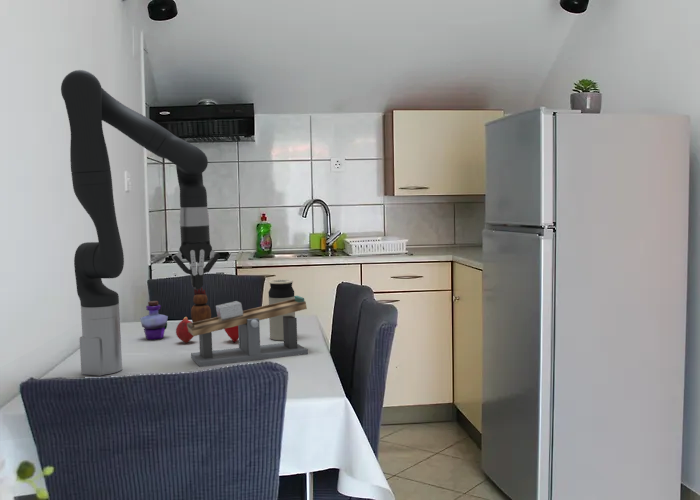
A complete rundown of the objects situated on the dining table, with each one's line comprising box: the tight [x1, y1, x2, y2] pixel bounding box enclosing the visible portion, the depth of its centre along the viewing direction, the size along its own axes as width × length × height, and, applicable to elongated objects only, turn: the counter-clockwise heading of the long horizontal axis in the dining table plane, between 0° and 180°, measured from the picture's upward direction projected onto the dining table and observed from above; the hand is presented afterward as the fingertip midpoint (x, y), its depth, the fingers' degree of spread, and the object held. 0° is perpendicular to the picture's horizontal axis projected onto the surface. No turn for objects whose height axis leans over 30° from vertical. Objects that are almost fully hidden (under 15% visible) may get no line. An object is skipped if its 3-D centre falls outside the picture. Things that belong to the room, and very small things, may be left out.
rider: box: [215, 300, 244, 321], centre depth 185 cm, size 6×5×4 cm
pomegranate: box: [175, 316, 195, 344], centre depth 207 cm, size 6×6×8 cm
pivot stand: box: [190, 316, 309, 367], centre depth 187 cm, size 30×14×11 cm, turn 113°
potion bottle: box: [139, 300, 169, 341], centre depth 215 cm, size 9×9×12 cm
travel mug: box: [268, 279, 296, 342], centre depth 210 cm, size 8×8×18 cm
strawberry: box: [223, 326, 239, 343], centre depth 206 cm, size 6×8×10 cm
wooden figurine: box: [190, 287, 212, 323], centre depth 235 cm, size 7×6×15 cm
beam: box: [187, 295, 307, 337], centre depth 187 cm, size 32×8×3 cm, turn 113°
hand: (197, 288), depth 181 cm, fingers closed
